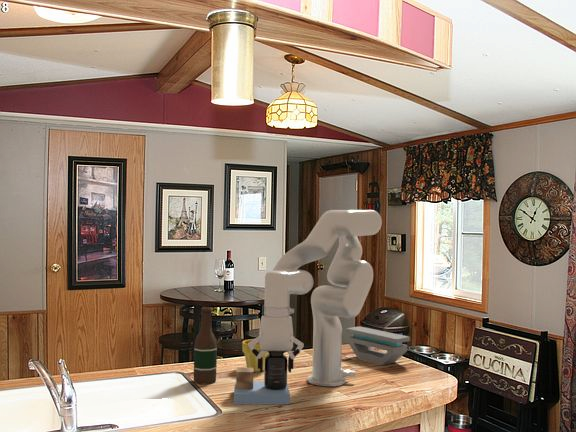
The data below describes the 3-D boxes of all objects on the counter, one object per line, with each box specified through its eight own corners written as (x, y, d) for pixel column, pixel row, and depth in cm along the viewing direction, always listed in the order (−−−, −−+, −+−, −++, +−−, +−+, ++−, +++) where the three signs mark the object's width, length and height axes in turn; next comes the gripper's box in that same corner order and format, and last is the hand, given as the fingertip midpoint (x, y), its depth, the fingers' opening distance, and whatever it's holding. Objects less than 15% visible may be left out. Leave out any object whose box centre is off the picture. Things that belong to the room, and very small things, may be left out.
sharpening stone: (409, 366, 207) (409, 336, 208) (396, 369, 202) (396, 339, 202) (358, 353, 226) (359, 326, 226) (345, 355, 221) (346, 328, 221)
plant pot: (235, 369, 196) (236, 342, 196) (253, 364, 205) (254, 337, 205) (259, 374, 190) (259, 346, 190) (276, 368, 199) (277, 341, 199)
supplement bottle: (263, 383, 169) (264, 344, 170) (285, 384, 170) (286, 344, 171) (264, 389, 162) (265, 348, 163) (287, 389, 163) (288, 348, 164)
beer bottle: (212, 385, 177) (214, 309, 177) (188, 383, 178) (190, 308, 179) (219, 378, 184) (221, 306, 185) (197, 377, 186) (199, 305, 186)
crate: (252, 384, 169) (253, 367, 169) (253, 389, 164) (253, 372, 164) (236, 384, 169) (236, 367, 169) (236, 388, 164) (236, 371, 164)
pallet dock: (286, 391, 172) (286, 381, 172) (289, 404, 160) (289, 393, 160) (234, 391, 171) (235, 381, 171) (233, 404, 159) (234, 393, 159)
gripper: (304, 310, 171) (303, 368, 170) (247, 310, 169) (246, 367, 169) (307, 314, 163) (305, 374, 163) (247, 314, 162) (246, 374, 162)
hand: (275, 370), depth 166 cm, fingers open, 8 cm apart
